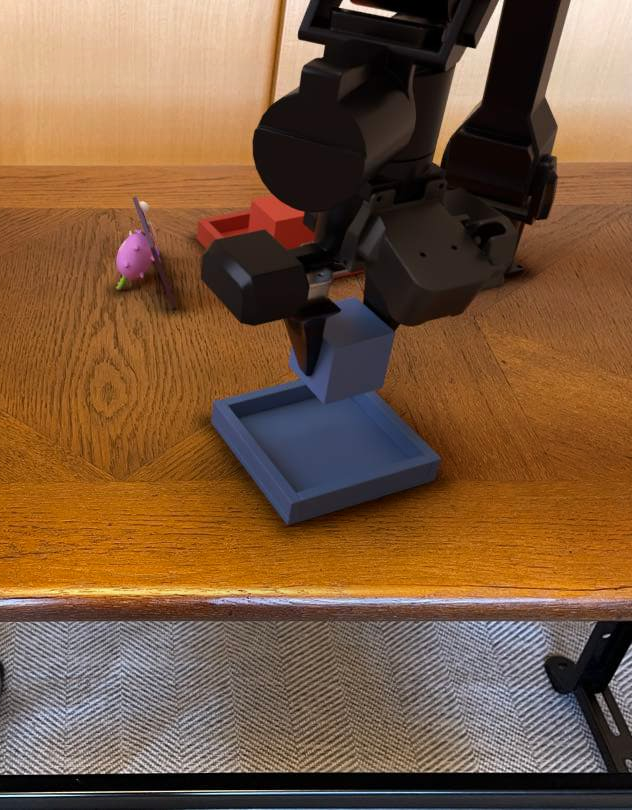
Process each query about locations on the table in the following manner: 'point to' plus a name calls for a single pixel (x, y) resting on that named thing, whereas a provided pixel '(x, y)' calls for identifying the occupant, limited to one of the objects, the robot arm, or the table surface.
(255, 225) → the red block
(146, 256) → the pink spiky toy
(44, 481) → the table surface
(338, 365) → the blue block
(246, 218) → the red tray
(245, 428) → the blue tray
